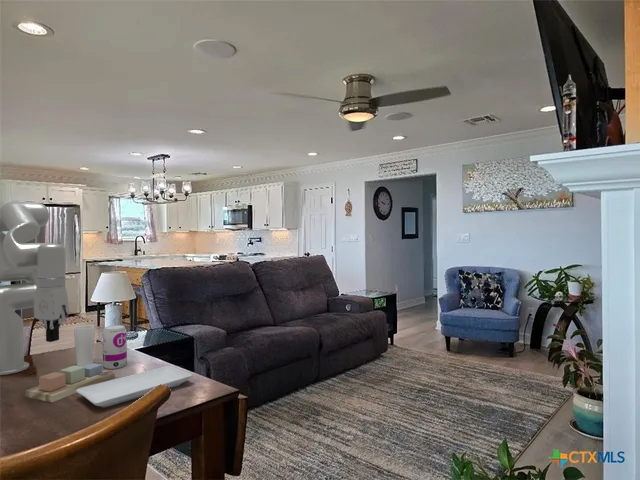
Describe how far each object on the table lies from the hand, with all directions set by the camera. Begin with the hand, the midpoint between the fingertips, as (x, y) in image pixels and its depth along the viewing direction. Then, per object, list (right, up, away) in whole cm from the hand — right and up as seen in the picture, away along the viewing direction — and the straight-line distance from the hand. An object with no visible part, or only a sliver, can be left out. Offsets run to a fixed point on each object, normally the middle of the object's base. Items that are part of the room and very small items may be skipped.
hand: (52, 340), depth 133 cm
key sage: (+2, -15, +7) cm, 17 cm away
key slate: (+5, -16, +13) cm, 21 cm away
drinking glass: (-6, -17, +28) cm, 33 cm away
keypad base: (+2, -17, +7) cm, 18 cm away
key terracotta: (0, -15, 0) cm, 15 cm away
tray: (+25, -18, +3) cm, 31 cm away
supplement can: (+6, -17, +28) cm, 33 cm away
